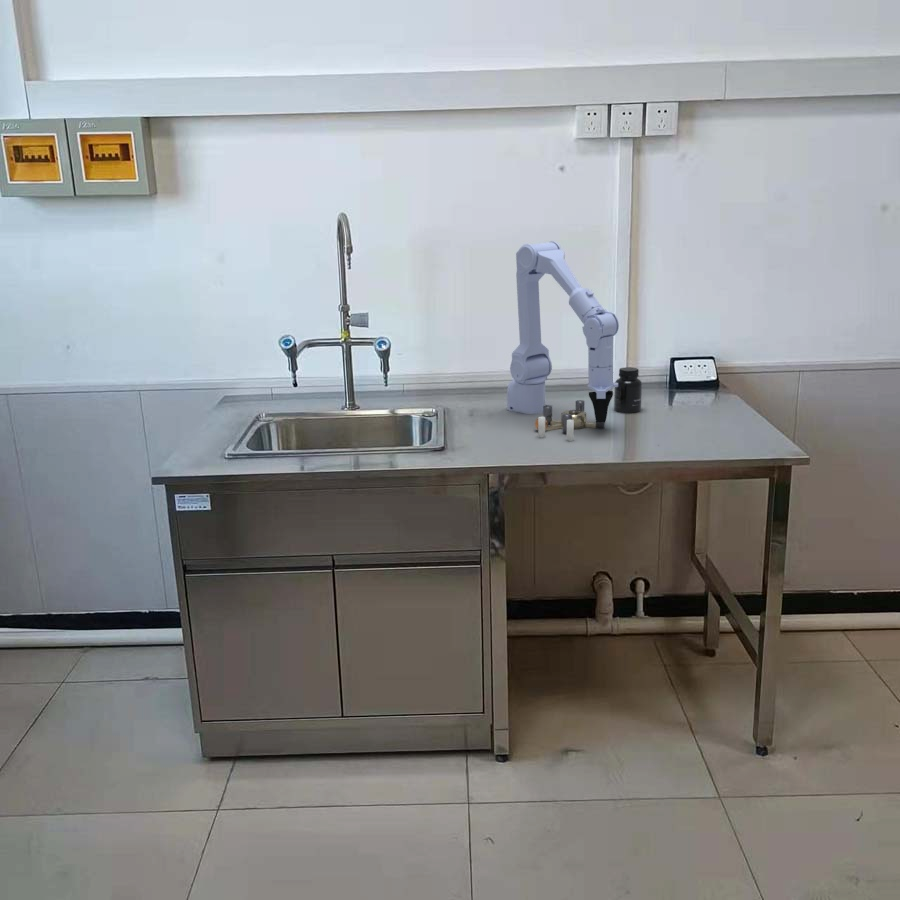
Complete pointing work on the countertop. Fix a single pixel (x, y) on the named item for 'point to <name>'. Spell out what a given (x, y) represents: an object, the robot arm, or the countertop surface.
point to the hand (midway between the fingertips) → (600, 421)
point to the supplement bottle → (628, 391)
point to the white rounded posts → (569, 428)
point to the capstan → (568, 418)
